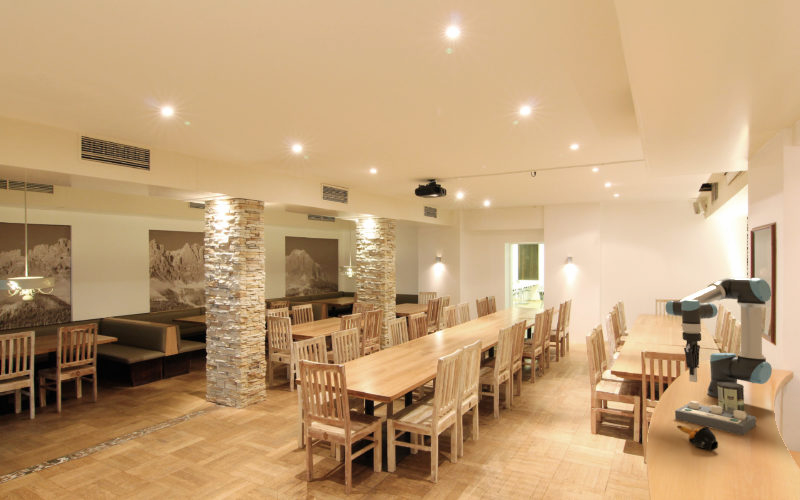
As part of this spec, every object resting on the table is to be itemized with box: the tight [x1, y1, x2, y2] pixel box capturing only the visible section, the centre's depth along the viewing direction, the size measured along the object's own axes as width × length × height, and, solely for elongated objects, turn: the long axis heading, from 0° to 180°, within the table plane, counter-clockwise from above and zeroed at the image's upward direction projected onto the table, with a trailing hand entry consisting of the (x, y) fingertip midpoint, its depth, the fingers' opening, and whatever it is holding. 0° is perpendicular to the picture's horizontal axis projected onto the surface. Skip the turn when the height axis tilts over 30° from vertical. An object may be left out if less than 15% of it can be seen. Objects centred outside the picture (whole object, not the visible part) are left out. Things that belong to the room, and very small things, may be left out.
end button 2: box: [734, 410, 747, 420], centre depth 199 cm, size 4×4×5 cm
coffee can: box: [717, 382, 745, 412], centre depth 215 cm, size 10×10×14 cm
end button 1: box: [688, 400, 701, 410], centre depth 213 cm, size 4×4×5 cm
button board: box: [674, 403, 757, 436], centre depth 204 cm, size 18×26×4 cm
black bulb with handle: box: [676, 425, 719, 451], centre depth 181 cm, size 9×11×18 cm
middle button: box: [709, 404, 722, 415], centre depth 206 cm, size 4×4×5 cm
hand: (693, 381), depth 213 cm, fingers closed
